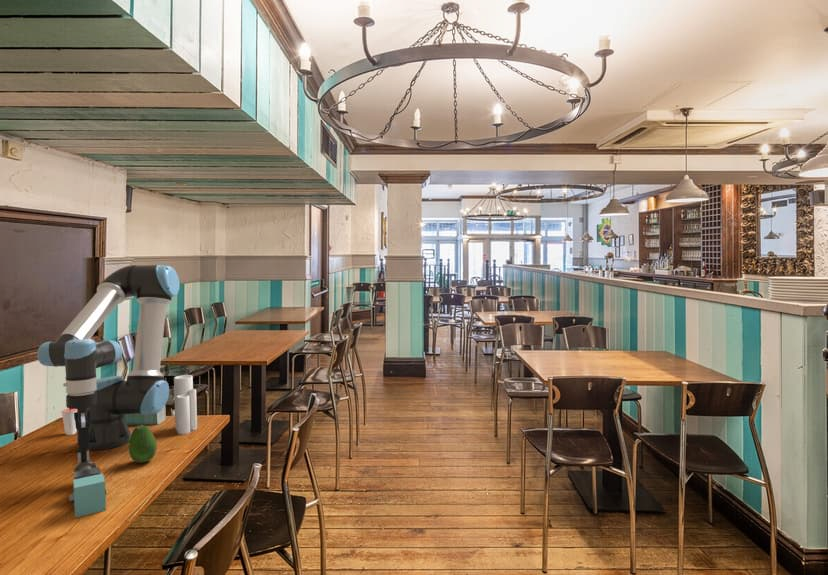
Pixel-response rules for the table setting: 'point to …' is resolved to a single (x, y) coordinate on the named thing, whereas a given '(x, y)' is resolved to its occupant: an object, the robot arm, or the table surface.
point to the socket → (89, 495)
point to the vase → (185, 404)
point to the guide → (84, 474)
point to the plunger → (85, 466)
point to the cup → (69, 421)
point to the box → (145, 418)
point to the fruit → (142, 444)
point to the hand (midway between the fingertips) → (84, 472)
